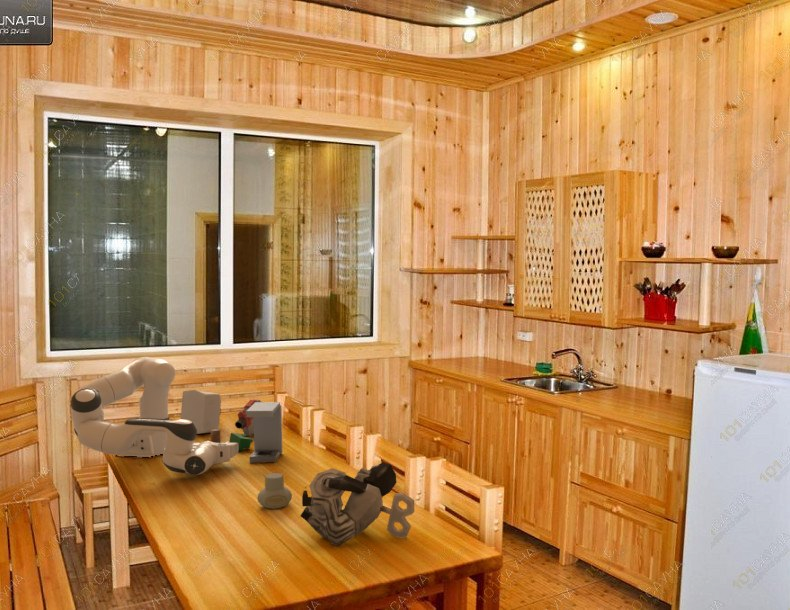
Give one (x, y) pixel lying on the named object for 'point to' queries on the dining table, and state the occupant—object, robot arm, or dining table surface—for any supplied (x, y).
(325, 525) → the toy
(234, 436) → the clamp
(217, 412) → the electrical switch box
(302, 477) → the dining table surface
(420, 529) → the dining table surface
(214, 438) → the peg
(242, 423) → the toy gun
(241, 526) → the dining table surface
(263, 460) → the socket
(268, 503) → the air freshener
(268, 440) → the gray cantilever bracket
